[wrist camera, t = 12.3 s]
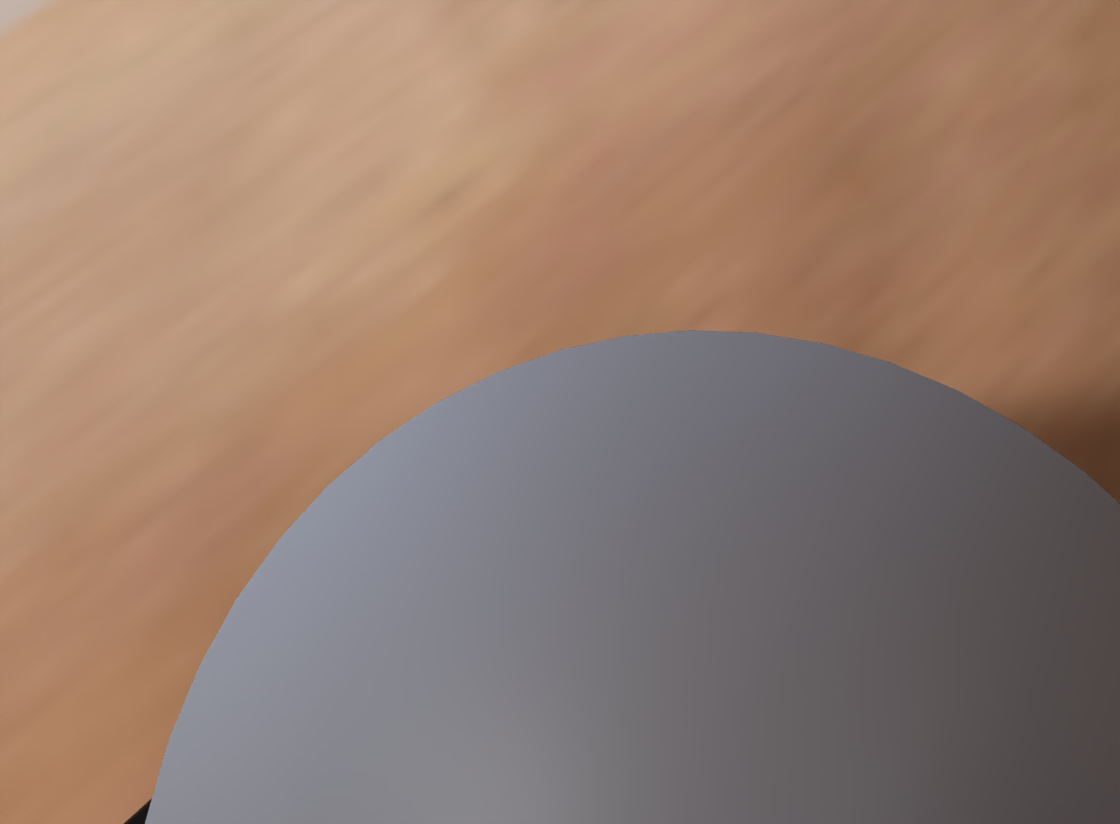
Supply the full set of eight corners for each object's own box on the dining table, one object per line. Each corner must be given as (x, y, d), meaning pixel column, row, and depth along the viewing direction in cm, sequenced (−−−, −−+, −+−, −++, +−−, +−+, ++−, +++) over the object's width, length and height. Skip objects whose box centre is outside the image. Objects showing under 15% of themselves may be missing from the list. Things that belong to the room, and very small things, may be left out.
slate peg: (744, 637, 15) (1689, 1200, 2) (570, 749, 15) (499, 2213, 2) (634, 463, 16) (854, 159, 3) (469, 564, 15) (-39, 680, 3)
